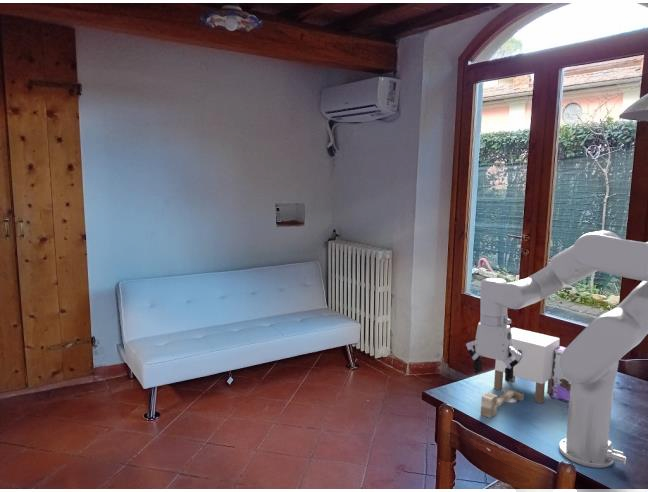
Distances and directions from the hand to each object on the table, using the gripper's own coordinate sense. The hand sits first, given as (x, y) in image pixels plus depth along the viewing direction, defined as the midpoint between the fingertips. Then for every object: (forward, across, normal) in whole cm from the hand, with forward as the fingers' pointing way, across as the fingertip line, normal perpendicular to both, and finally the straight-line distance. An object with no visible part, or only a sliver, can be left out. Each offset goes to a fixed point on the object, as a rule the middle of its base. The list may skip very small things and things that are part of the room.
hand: (492, 375), depth 144 cm
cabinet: (+13, +2, -26) cm, 29 cm away
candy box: (+14, -13, -30) cm, 36 cm away
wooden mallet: (+13, +2, -9) cm, 16 cm away
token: (+13, +2, -15) cm, 20 cm away
